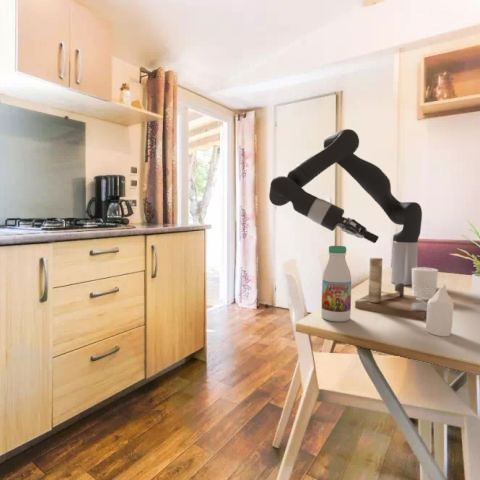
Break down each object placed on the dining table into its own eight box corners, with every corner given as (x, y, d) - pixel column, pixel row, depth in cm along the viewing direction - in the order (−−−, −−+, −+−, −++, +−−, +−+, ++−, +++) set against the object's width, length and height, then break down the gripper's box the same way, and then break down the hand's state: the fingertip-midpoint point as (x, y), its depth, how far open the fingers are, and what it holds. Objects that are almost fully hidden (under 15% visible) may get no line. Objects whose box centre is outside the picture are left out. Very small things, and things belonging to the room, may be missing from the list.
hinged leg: (396, 294, 113) (398, 254, 112) (406, 296, 110) (408, 256, 109) (365, 300, 104) (367, 258, 103) (376, 303, 101) (377, 259, 100)
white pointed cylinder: (426, 280, 87) (451, 282, 85) (423, 327, 88) (448, 329, 86) (430, 285, 81) (457, 287, 79) (427, 334, 82) (454, 338, 80)
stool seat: (376, 296, 120) (376, 289, 119) (438, 305, 107) (438, 299, 107) (355, 307, 105) (355, 300, 105) (423, 320, 93) (423, 312, 93)
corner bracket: (406, 306, 99) (406, 299, 99) (421, 306, 99) (421, 300, 99) (411, 310, 95) (412, 303, 95) (427, 311, 95) (428, 304, 94)
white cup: (440, 301, 113) (441, 271, 112) (414, 300, 114) (415, 270, 114) (431, 295, 121) (433, 267, 120) (407, 294, 122) (409, 266, 121)
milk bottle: (317, 314, 98) (319, 244, 97) (343, 313, 99) (345, 244, 97) (326, 322, 91) (328, 247, 89) (354, 322, 91) (357, 247, 90)
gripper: (331, 198, 102) (387, 225, 97) (330, 208, 115) (379, 232, 110) (319, 220, 102) (374, 248, 98) (319, 227, 115) (368, 253, 110)
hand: (376, 240), depth 104 cm, fingers closed
